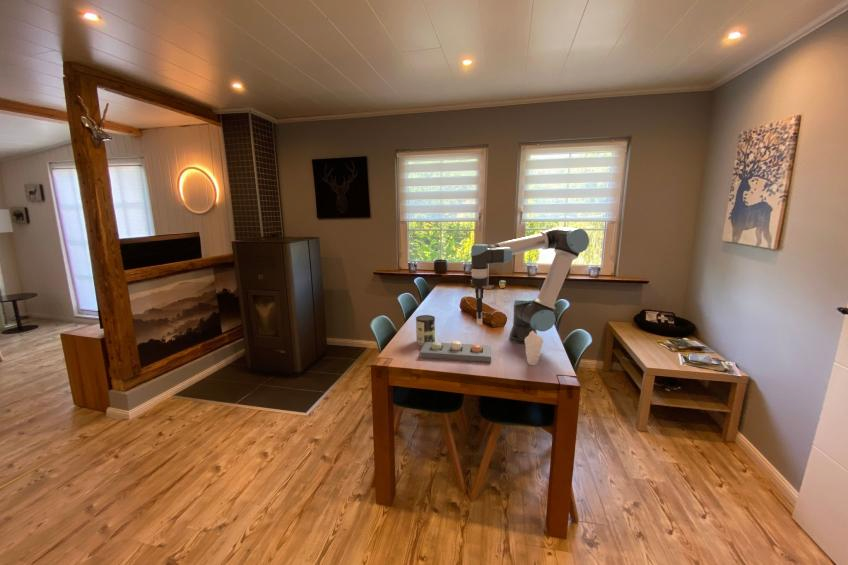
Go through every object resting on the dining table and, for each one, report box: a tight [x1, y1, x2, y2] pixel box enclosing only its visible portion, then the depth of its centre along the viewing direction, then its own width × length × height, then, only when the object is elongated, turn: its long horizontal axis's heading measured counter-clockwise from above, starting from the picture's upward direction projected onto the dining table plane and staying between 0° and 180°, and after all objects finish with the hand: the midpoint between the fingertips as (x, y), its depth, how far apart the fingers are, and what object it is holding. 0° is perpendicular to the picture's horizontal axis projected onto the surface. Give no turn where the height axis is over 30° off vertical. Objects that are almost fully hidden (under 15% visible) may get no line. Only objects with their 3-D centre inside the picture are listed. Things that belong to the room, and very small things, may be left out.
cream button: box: [450, 340, 462, 351], centre depth 171 cm, size 5×5×4 cm
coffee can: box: [415, 314, 436, 346], centre depth 187 cm, size 10×10×14 cm
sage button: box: [431, 341, 442, 350], centre depth 173 cm, size 5×5×4 cm
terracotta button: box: [471, 343, 482, 353], centre depth 169 cm, size 5×5×4 cm
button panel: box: [419, 342, 492, 363], centre depth 171 cm, size 34×14×3 cm, turn 80°
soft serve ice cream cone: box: [524, 331, 544, 366], centre depth 159 cm, size 8×8×16 cm
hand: (479, 324), depth 169 cm, fingers closed
